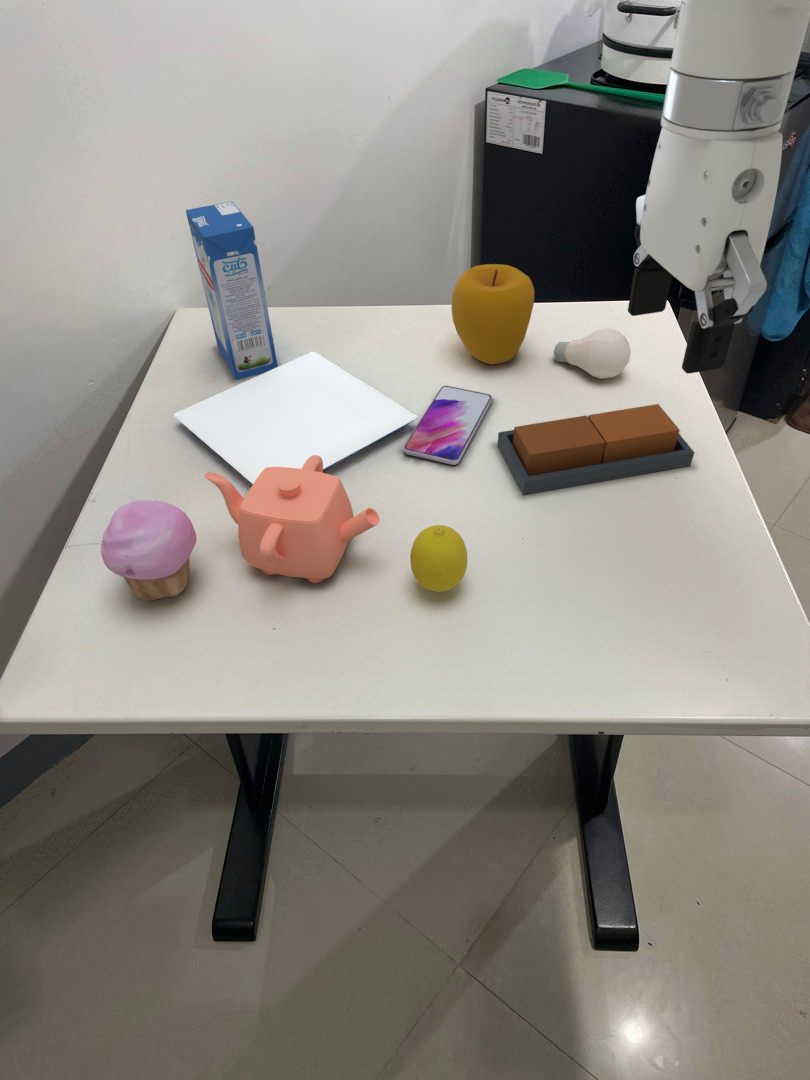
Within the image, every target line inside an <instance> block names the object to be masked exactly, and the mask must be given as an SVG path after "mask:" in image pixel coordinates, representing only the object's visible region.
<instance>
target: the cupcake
mask: <svg viewBox="0 0 810 1080" xmlns="http://www.w3.org/2000/svg"><path fill="white" fill-rule="evenodd" d="M196 543H197V533H196V530H195V528H194V524H193V522H192V520H191V519H190V517H189V516H188V514H187V513H186V512H185V511H183V510H182V509H181V508H179V507H177V506H176V505H173V504H171V503H168V502H165V501H161V500H160V501H159V500H147V499H140V500H135V501H130V502H128V503H126V504H124V505H121V506H120V507H118V508H117V509H116V510H115V511H114V513H113V514H112V516H111V519H110V521H109V524H108V525H107V526H106V528H105V530H104V532H103V534H102V540H101V544H100V554H101V558H102V561H103V564H104V566H105V567H106V568H107V569H108V570H109V571H110V572H111V573H113V574H115V575H117V576H120V577H121V578H123V579H124V580H125V582H126V583H127V586H128V587H129V589H130V590H131V592H132V593H133V594H134V596H136V597H137V598H138V599H139V600H142V601H148V602H149V601H154V600H160V599H165V598H172V597H176V596H178V595H180V594H181V593H182V592H183V591H184V590H185V589H186V588H187V581H188V579H189V577H190V574H191V565H190V561H191V560H190V556H191V554H192V552H193V549H194V548H195V546H196Z"/></svg>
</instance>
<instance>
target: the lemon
mask: <svg viewBox="0 0 810 1080" xmlns="http://www.w3.org/2000/svg"><path fill="white" fill-rule="evenodd" d="M409 555H410V556H409V558H410V559H409V560H410V569H411V572H412V575H413V576H414V579H415V580H416V582H417V583H418V584H419V585H420V586H422V587H423V588H425V590H428V591H431V592H436V593H438V592H439V593H441V592H442V593H443V592H447V591H450V590H452V589H454V588H455V587H457V586H458V585H459V583H460V582H461V581H462V580H463V578H464V577H465V575H466V572H467V568H468V550H467V547H466V543H465V541H464V539H463V538H462V536H461V535H460V533H459V532H458V531H457V530H455V529H454V528H452V527H450V526H448V525H443V524H435V525H431V526H428V527H426V528H424V529H422V530H421V531H420V532H419V533H418V534H417V536H416V537H415V539H414V541H413V543H412V547H411V549H410V554H409Z"/></svg>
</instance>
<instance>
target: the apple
mask: <svg viewBox="0 0 810 1080" xmlns="http://www.w3.org/2000/svg"><path fill="white" fill-rule="evenodd" d="M451 295H452V296H451V316H452V322H453V325H454V328H455V331H456V333H457V335H458V337H459V339H460V340H461V342H462V344H463V346H464V348H465V349H466V350H467V352H468V353H469V354H470V356H472V357H473V358H475V359H476V360H478V361H480V362H481V363H484V364H488V365H497V364H503V363H506V362H509V361H511V360H513V358H514V357H515V356H516V355H517V354H518V352H519V350H520V349H521V346H522V344H523V342H524V341H525V339H526V335H527V332H528V328H529V325H530V321H531V317H532V313H533V309H534V305H535V288H534V285H533V282H532V279H531V278H530V277H529V276H528V275H527V274H525V273H524V272H523V271H521V270H519V269H518V268H516V267H514V266H511V265H508V264H499V263H491V264H490V263H486V264H480V265H475V266H473V267H470V268H469V269H467V270H465V271H464V272H463V273H461V274H460V276H459V277H458V279H457V281H456V283H455V285H454V287H453V292H452V294H451Z"/></svg>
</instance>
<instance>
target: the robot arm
mask: <svg viewBox="0 0 810 1080" xmlns="http://www.w3.org/2000/svg"><path fill="white" fill-rule="evenodd" d="M809 23H810V0H680V7H679V13H678V19H677V25H676V31H675V36H674V43H673V48H672V55H671V62H670V67H669V72H668V78H667V83H666V89H665V95H664V101H663V107H662V113H661V118H660V126H661V130H660V133H659V137H658V141H657V143H656V147H655V151H654V156H653V159H652V164H651V169H650V174H649V177H648V182H647V186H646V190H645V194H643V195H640V196H638V197H637V198H636V200H635V201H636V202H635V212H636V213H635V214H636V227H635V229H634V232H633V235H634V237H635V242H636V248H637V249H636V251H634V253H633V264H634V266H635V267H636V268H634V270H633V277H632V283H631V289H630V295H629V300H628V307H627V312H628V314H630V316H632V317H636V316H643V315H649V314H656V313H661V312H664V311H666V308H667V303H668V297H669V292H670V288H671V283H672V277H674V278H675V279H676V280H677V281H679V282H680V283H681V284H683V286H685V287H686V288H688V289H689V290H691V291H694V297H695V303H696V304H695V305H696V309H697V317H698V321H693V322H691V326H690V330H689V334H688V339H687V343H686V347H685V351H684V356H683V359H682V364H681V369H682V370H683V372H685V374H694V373H701V372H708V371H714V370H719V369H721V368H722V367H724V366H725V362H726V359H727V355H728V353H729V348H730V344H731V341H732V338H733V334H734V330H735V328H736V327H735V326H736V324H741V323H742V321H743V319H744V318H746V317H747V316H748V315H750V314H751V313H752V312H753V310H754V307H755V305H756V304H757V303H758V301H759V300H760V299H761V297H763V295H764V293H765V292H766V291H767V288H768V282H767V279H766V276H765V273H764V272H763V270H762V267H761V263H762V261H763V256H764V251H765V247H766V243H767V239H768V235H769V231H770V226H771V222H772V218H773V212H774V208H775V204H776V203H775V202H776V197H777V191H778V186H779V179H780V172H781V163H782V155H783V137H784V136H783V134H782V132H780V131H779V130H780V128H781V126H782V122H783V119H784V115H785V111H786V108H787V103H788V100H789V98H790V97H789V96H790V93H791V89H792V85H793V81H794V78H795V74H796V71H797V70H796V69H797V66H798V63H799V60H800V55H801V53H802V48H803V44H804V41H805V37H806V34H807V30H808V26H809ZM719 273H722V275H723V277H721V278H714V279H713V278H712V279H709V277H712V276H713V275H714V274H719ZM717 291H723V296H724V300H722V301H721V302H719V303H718V304H716V305H715V306H714V303H713V302H714V301H713V295H712V292H717Z"/></svg>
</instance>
